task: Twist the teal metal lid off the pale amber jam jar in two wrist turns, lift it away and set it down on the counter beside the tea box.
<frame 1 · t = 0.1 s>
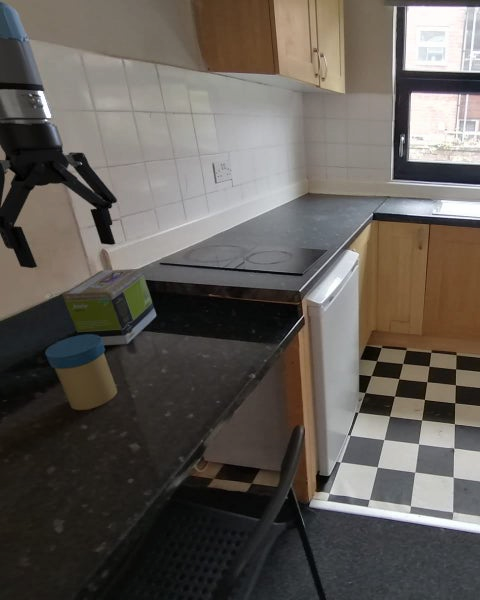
hand: (72, 254, 71), 27 cm above the counter, tool pointing down, fingers open, 13 cm apart
jar lid: (74, 347, 72), point 11 cm above the counter, screwed on, not yet turned
tea box: (124, 335, 99), on the counter
jam jar: (94, 397, 76), on the counter
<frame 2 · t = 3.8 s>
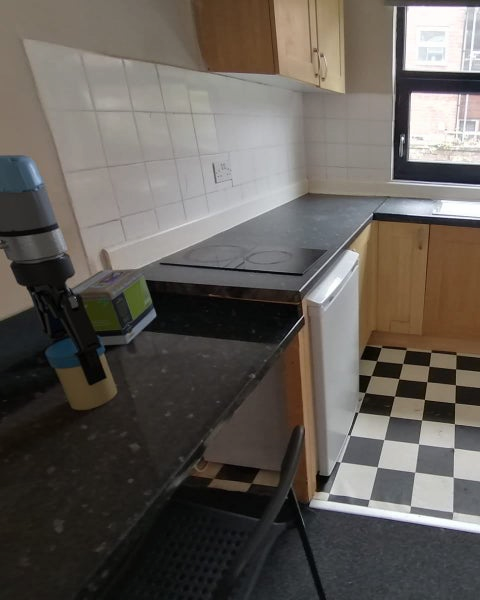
hand: (85, 374, 74), 5 cm above the counter, tool pointing down, fingers closed on jar lid, 8 cm apart
jar lid: (74, 347, 72), point 11 cm above the counter, screwed on, not yet turned, touching gripper
everything else where it was.
when the fingers open (5 cm above the counter, at t = 5.8 s): jar lid stays where it is, point 11 cm above the counter.
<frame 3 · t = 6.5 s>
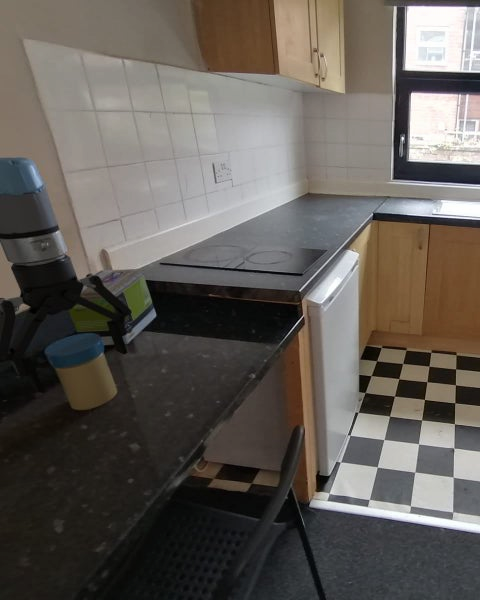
hand: (83, 369, 74), 6 cm above the counter, tool pointing down, fingers open, 13 cm apart
jar lid: (74, 345, 72), point 11 cm above the counter, turned 90° so far, risen 0.2 cm, still on its thread
everything else where it was.
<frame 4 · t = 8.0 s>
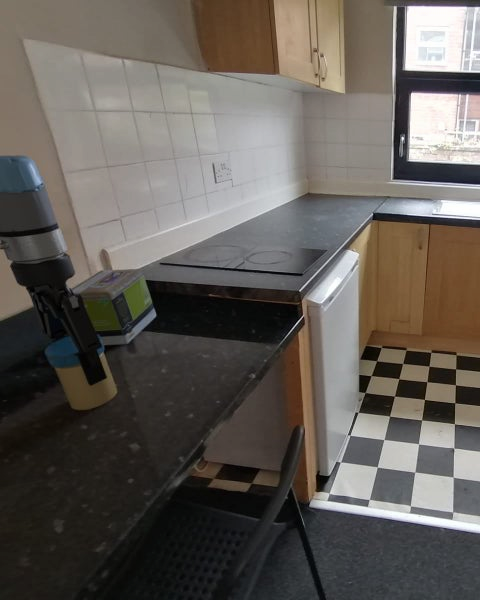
hand: (85, 374, 74), 5 cm above the counter, tool pointing down, fingers closed on jar lid, 8 cm apart
jar lid: (74, 345, 72), point 11 cm above the counter, turned 90° so far, risen 0.2 cm, still on its thread, touching gripper
everything else where it was.
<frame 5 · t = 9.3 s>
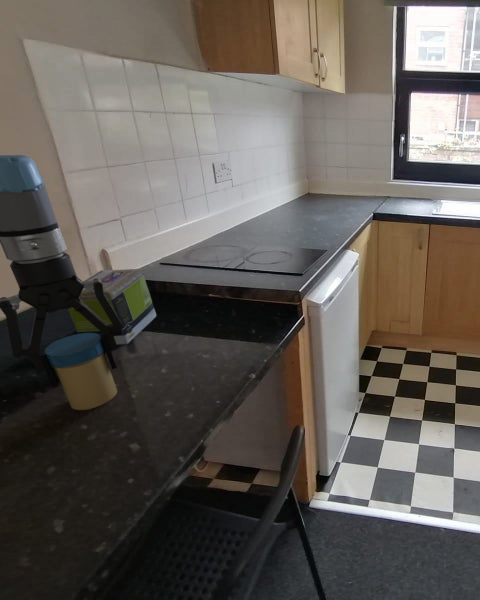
hand: (85, 374, 74), 5 cm above the counter, tool pointing down, fingers closed on jar lid, 8 cm apart
jar lid: (74, 345, 72), point 11 cm above the counter, off its thread, touching gripper
everything else where it was.
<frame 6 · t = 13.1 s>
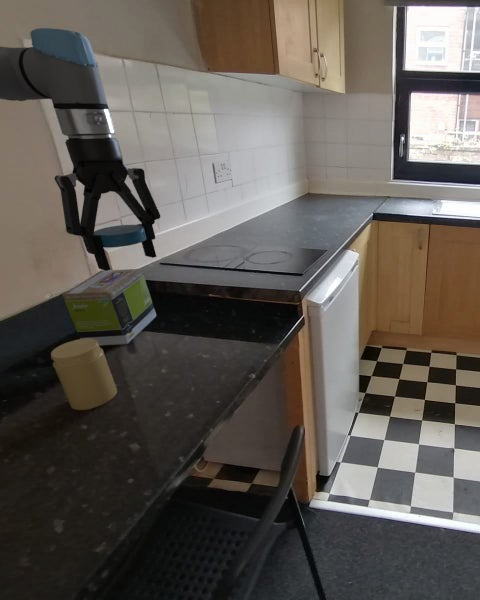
hand: (128, 262, 79), 23 cm above the counter, tool pointing down, fingers closed on jar lid, 8 cm apart
jar lid: (119, 231, 76), point 29 cm above the counter, off its thread, touching gripper
everything else where it was.
when the fingers open (2 cm above the counter, at t = 18.5 s): jar lid drops 6 cm, point 2 cm above the counter.
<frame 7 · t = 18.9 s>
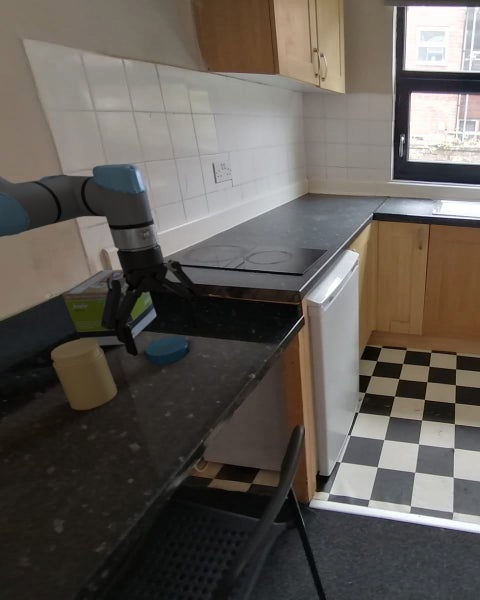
hand: (164, 339, 89), 4 cm above the counter, tool pointing down, fingers open, 13 cm apart
jar lid: (167, 347, 90), point 2 cm above the counter, off its thread
everything else where it was.
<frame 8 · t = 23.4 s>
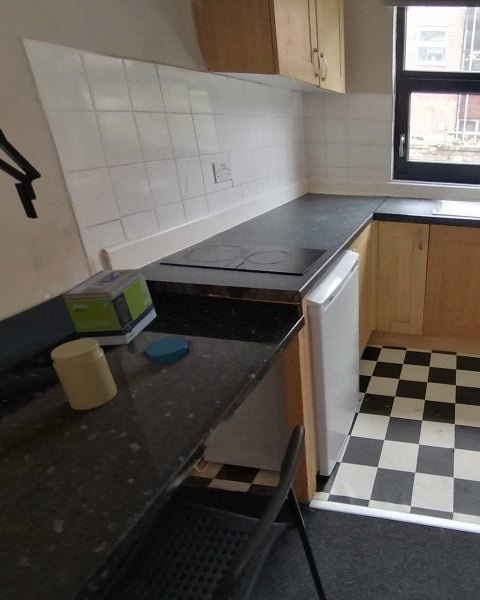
nothing on the counter moved.
at the end: jar lid came off its thread; jar lid inside the target area on the counter beside the tea box (0.0 cm from its centre), point 2.1 cm above the counter; the gripper is holding nothing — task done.
